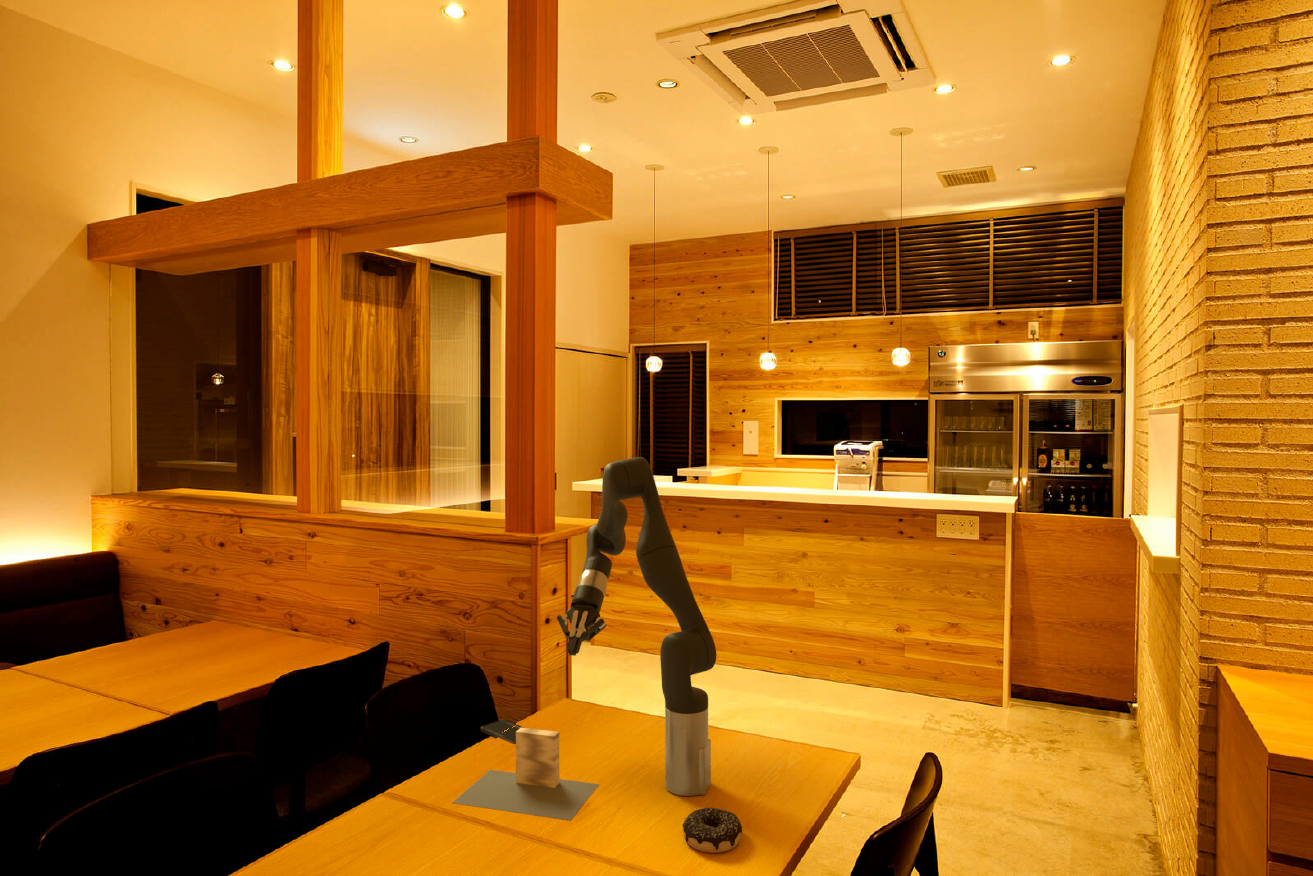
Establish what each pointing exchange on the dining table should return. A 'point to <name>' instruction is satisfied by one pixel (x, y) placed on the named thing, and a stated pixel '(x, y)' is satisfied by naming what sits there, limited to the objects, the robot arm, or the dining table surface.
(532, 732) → the tan wooden block
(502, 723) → the phone
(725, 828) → the donut
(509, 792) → the mat
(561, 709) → the dining table surface
